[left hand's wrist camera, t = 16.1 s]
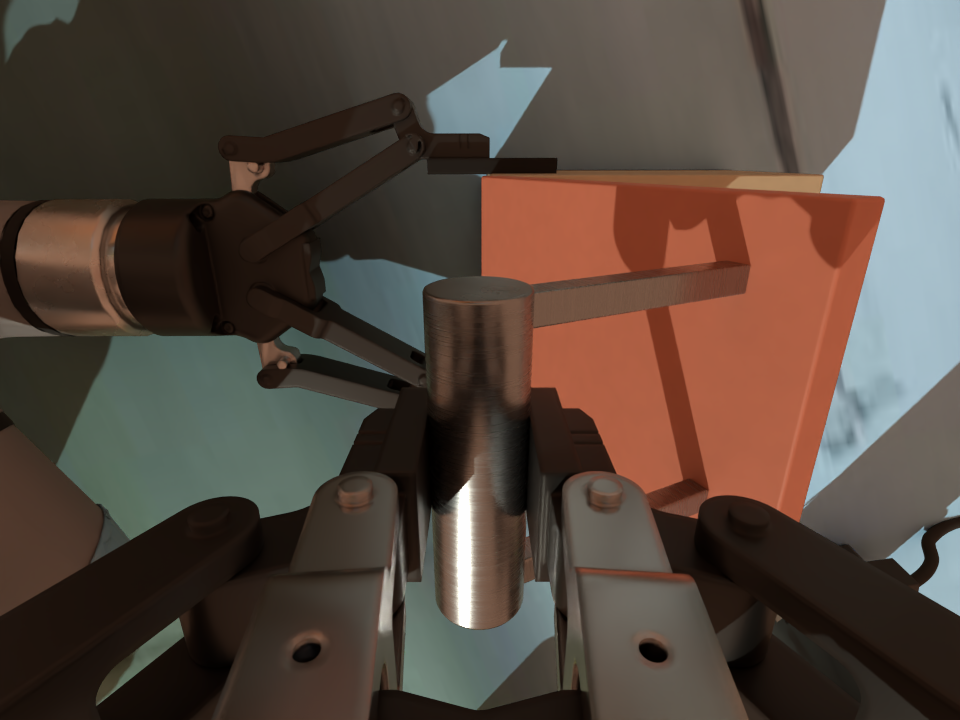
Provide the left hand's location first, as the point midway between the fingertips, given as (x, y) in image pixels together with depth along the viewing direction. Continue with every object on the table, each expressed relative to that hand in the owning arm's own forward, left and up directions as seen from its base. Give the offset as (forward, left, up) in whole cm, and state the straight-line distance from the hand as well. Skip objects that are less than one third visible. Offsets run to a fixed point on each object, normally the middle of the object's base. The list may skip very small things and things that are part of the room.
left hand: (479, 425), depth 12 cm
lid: (-5, +1, -7) cm, 9 cm away
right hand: (-4, +1, -19) cm, 19 cm away
